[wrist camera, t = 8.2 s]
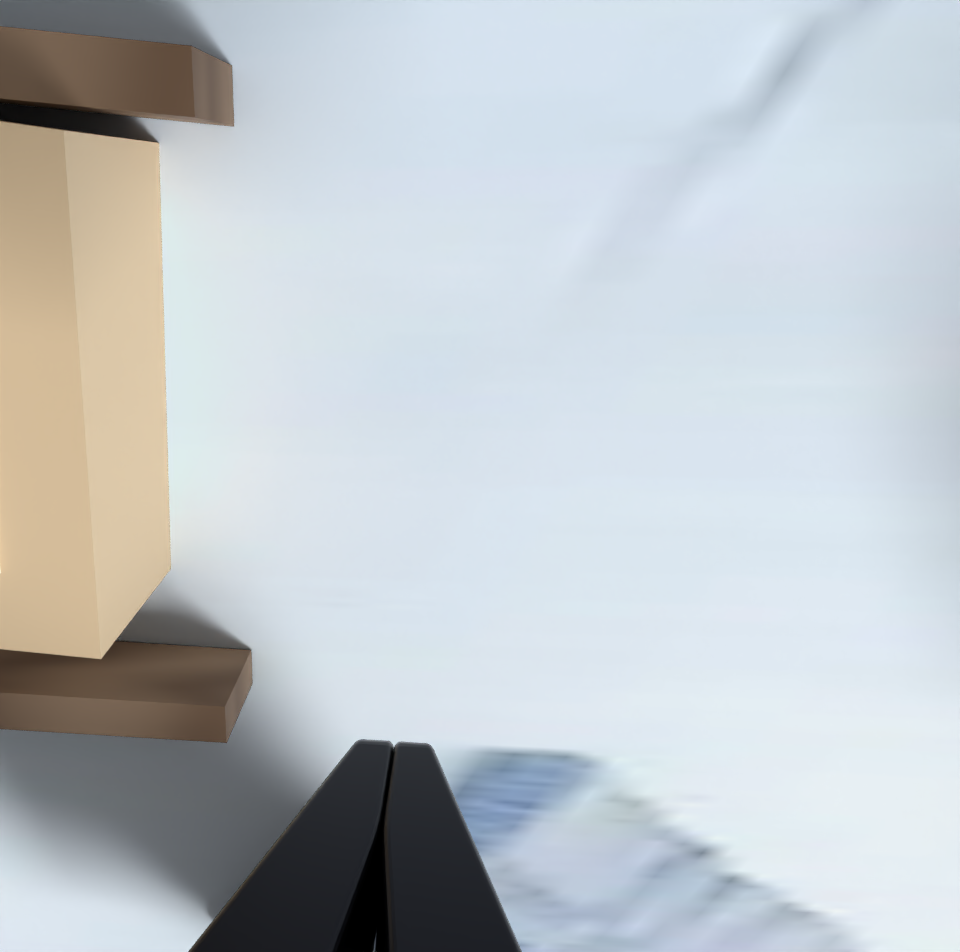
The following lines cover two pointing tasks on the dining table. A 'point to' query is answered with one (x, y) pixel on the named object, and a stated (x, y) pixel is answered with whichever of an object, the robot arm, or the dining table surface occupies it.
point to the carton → (80, 388)
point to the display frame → (126, 665)
